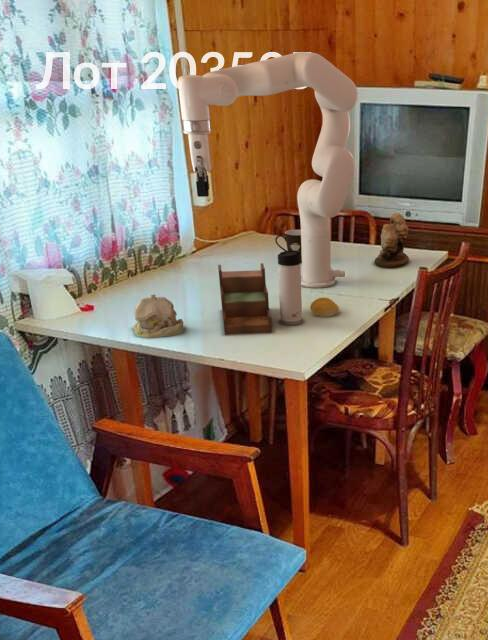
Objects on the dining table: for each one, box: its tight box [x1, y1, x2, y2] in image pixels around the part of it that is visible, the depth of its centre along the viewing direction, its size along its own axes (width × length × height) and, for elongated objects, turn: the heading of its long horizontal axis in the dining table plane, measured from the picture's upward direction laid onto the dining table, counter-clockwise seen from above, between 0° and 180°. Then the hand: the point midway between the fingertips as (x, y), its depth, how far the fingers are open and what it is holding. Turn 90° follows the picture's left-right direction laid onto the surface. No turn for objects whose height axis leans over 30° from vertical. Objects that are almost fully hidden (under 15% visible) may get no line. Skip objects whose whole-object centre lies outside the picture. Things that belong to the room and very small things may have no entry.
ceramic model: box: [132, 294, 185, 339], centre depth 203 cm, size 14×11×10 cm
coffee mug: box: [274, 229, 302, 264], centre depth 267 cm, size 12×9×10 cm
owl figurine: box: [374, 212, 410, 269], centre depth 266 cm, size 18×12×17 cm, turn 163°
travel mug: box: [277, 250, 303, 326], centre depth 208 cm, size 6×7×20 cm
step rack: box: [217, 262, 273, 336], centre depth 210 cm, size 13×21×14 cm, turn 11°
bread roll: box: [309, 297, 340, 318], centre depth 220 cm, size 8×9×4 cm
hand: (203, 193), depth 214 cm, fingers open, 9 cm apart
